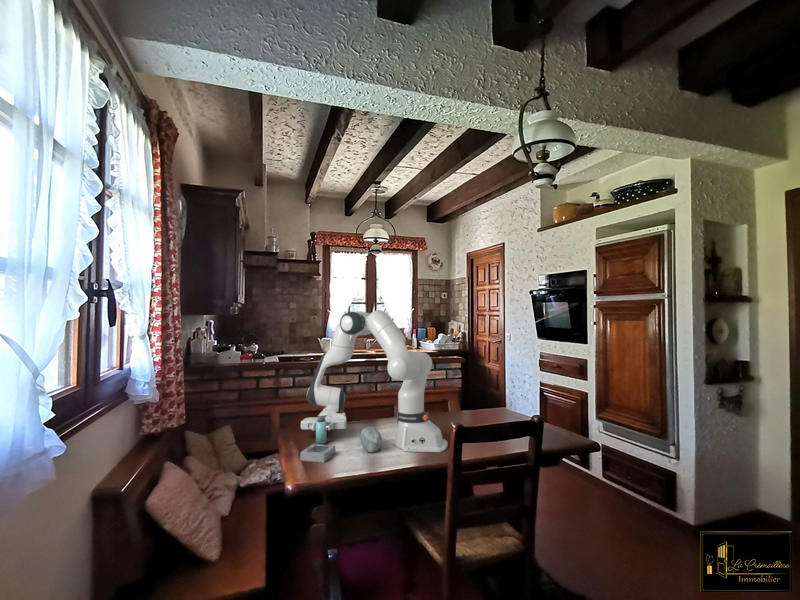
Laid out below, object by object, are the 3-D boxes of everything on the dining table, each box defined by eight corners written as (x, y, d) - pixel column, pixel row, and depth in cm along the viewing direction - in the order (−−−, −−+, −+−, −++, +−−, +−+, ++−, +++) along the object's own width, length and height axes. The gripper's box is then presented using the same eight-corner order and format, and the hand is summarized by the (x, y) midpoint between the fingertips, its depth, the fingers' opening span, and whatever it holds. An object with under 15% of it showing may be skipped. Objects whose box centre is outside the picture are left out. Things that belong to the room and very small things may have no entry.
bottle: (328, 440, 170) (328, 415, 170) (323, 444, 166) (323, 418, 166) (318, 440, 171) (318, 414, 171) (314, 443, 167) (313, 417, 167)
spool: (355, 435, 169) (366, 416, 168) (374, 444, 171) (385, 425, 169) (354, 454, 156) (366, 434, 154) (375, 463, 157) (387, 443, 156)
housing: (335, 453, 157) (335, 445, 157) (324, 462, 147) (324, 454, 147) (312, 451, 160) (312, 443, 160) (300, 460, 150) (300, 452, 150)
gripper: (304, 413, 182) (296, 421, 168) (348, 412, 182) (344, 421, 168) (304, 426, 181) (296, 436, 168) (348, 426, 181) (344, 435, 168)
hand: (320, 428), depth 168 cm, fingers closed on bottle, 4 cm apart
